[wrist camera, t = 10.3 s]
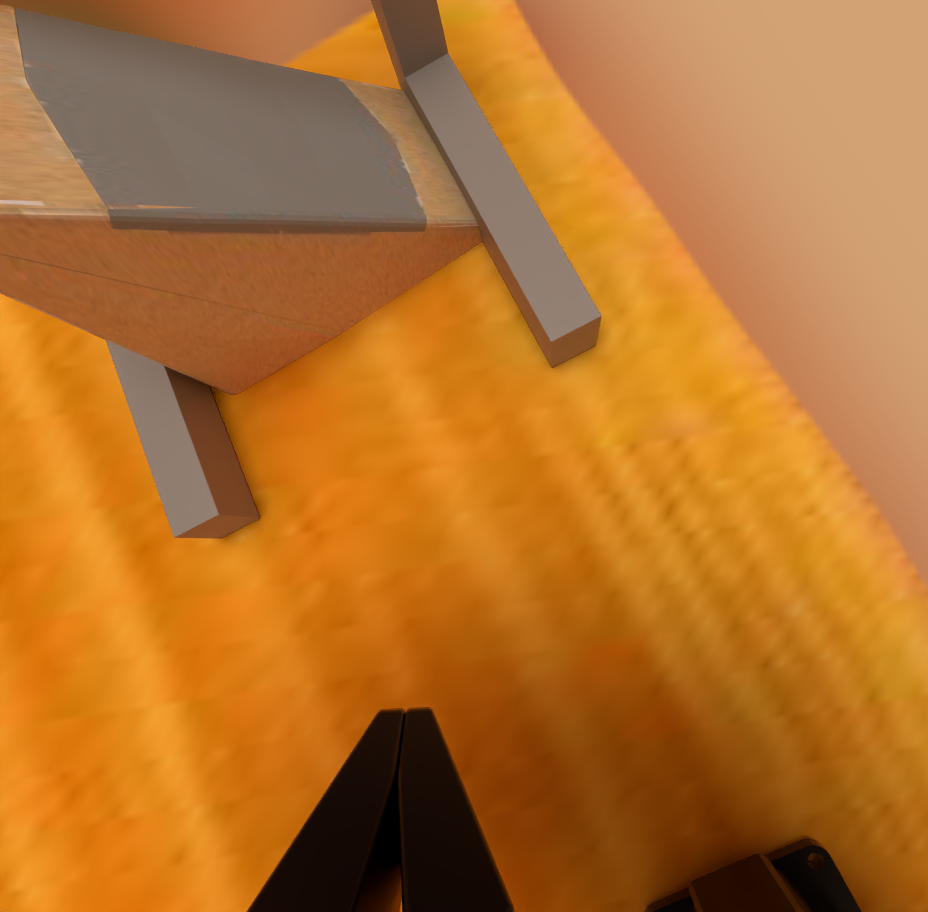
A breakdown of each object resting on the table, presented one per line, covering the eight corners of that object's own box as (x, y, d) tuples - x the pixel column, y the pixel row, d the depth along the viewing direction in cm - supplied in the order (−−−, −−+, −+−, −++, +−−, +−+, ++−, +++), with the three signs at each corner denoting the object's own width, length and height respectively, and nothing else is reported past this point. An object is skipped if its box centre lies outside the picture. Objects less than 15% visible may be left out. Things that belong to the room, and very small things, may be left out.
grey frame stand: (595, 345, 23) (772, -565, 4) (220, 538, 24) (-920, 517, 5) (442, 78, 26) (150, -1111, 7) (119, 262, 27) (-815, -342, 9)
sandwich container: (526, 226, 24) (480, -245, 10) (239, 404, 25) (-191, 218, 11) (434, 90, 26) (279, -475, 12) (170, 262, 27) (-276, -63, 13)
